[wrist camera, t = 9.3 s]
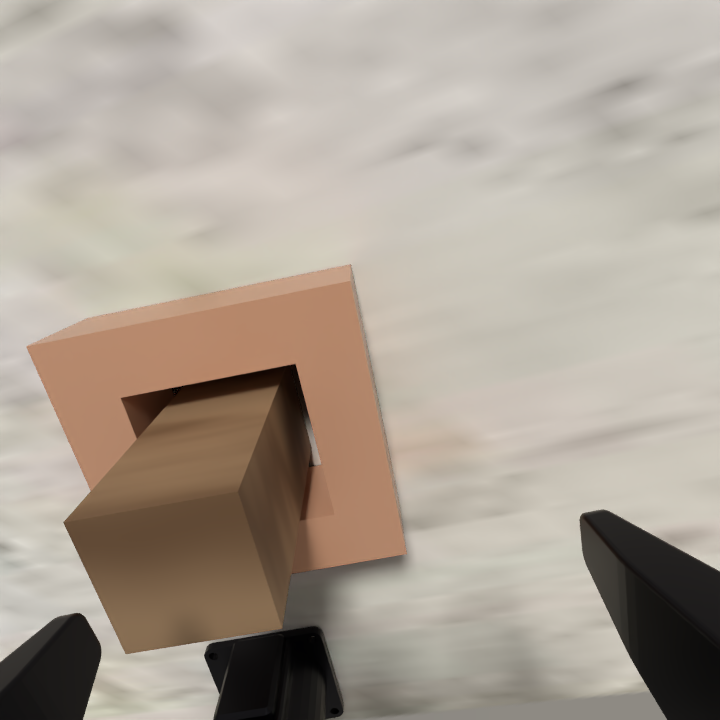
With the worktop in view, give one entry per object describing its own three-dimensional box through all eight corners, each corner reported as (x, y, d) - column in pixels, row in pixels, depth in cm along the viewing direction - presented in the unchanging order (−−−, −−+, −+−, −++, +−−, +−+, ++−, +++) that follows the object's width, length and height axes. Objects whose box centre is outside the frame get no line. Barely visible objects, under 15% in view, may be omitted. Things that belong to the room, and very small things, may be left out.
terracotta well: (398, 496, 24) (407, 553, 20) (173, 536, 24) (139, 600, 20) (350, 264, 20) (350, 280, 16) (86, 318, 20) (26, 346, 17)
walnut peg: (311, 448, 23) (282, 628, 13) (219, 464, 23) (126, 654, 13) (288, 359, 21) (237, 491, 12) (190, 378, 21) (63, 522, 12)
